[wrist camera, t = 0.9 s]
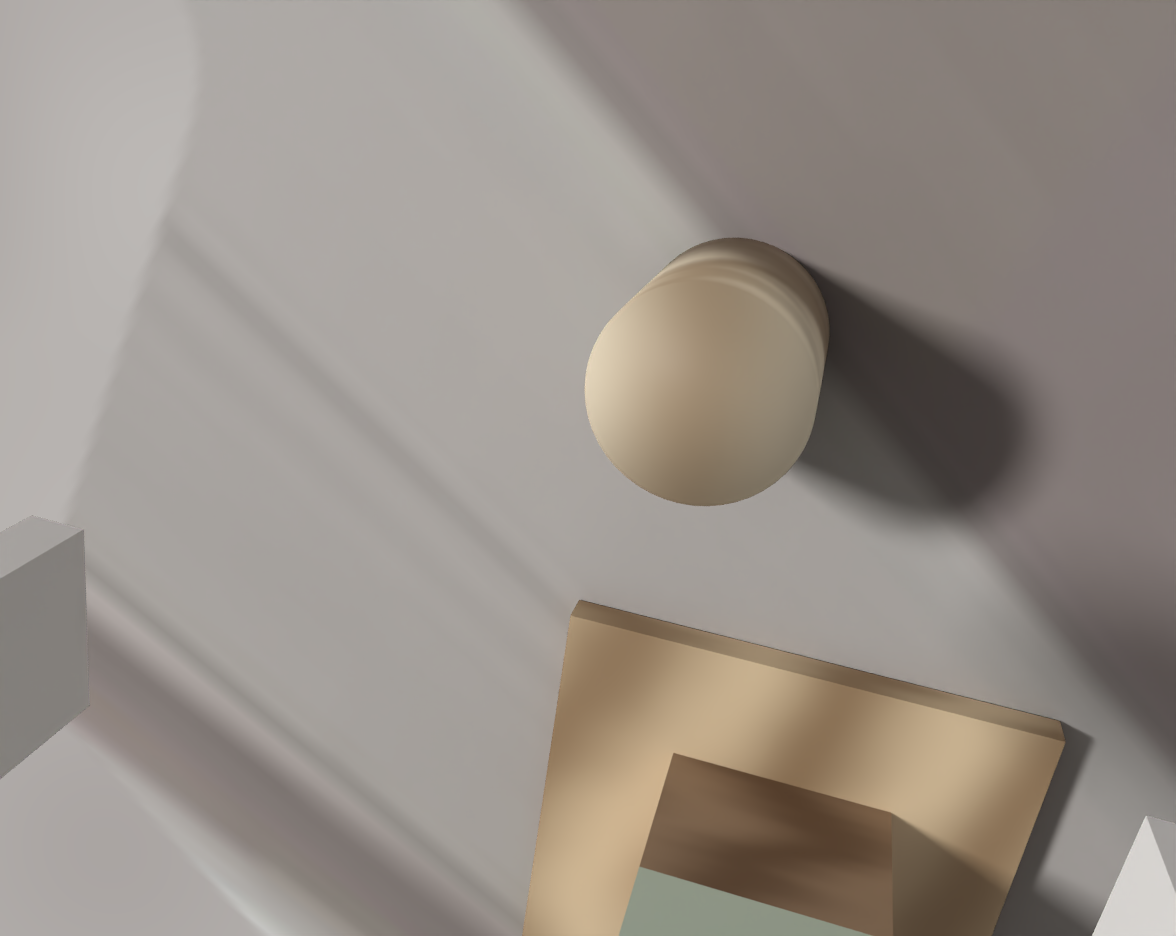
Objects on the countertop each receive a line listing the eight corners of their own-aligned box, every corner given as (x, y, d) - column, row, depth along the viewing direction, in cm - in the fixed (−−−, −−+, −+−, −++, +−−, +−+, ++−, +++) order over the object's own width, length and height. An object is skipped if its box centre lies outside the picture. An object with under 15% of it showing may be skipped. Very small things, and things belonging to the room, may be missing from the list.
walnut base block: (891, 812, 31) (893, 941, 26) (840, 975, 33) (834, 1118, 29) (673, 752, 32) (639, 866, 27) (639, 914, 35) (603, 1042, 30)
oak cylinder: (849, 257, 27) (841, 307, 21) (806, 440, 29) (789, 528, 23) (656, 221, 28) (601, 260, 22) (627, 401, 30) (570, 478, 24)
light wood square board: (1059, 721, 30) (1065, 742, 29) (929, 1069, 35) (930, 1095, 34) (579, 599, 32) (570, 615, 31) (526, 941, 38) (517, 963, 37)
